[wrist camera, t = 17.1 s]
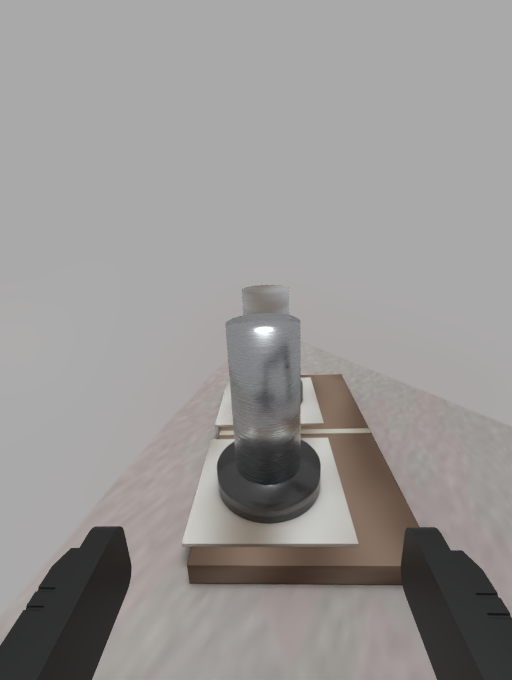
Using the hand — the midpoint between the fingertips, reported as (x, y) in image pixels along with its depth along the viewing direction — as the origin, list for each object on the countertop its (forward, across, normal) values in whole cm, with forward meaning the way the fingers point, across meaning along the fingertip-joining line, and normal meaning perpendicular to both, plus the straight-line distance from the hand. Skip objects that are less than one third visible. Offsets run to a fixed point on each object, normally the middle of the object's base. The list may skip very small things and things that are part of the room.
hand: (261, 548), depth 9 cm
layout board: (+16, -2, +8) cm, 18 cm away
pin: (+10, 0, +6) cm, 12 cm away
